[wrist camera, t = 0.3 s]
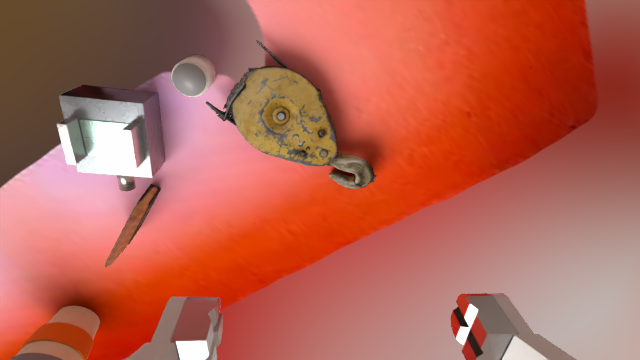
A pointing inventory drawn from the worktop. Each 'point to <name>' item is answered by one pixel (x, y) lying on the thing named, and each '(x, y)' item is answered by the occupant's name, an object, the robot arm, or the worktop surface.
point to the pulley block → (290, 122)
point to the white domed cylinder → (193, 75)
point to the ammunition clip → (133, 223)
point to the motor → (112, 132)
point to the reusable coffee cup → (62, 336)
